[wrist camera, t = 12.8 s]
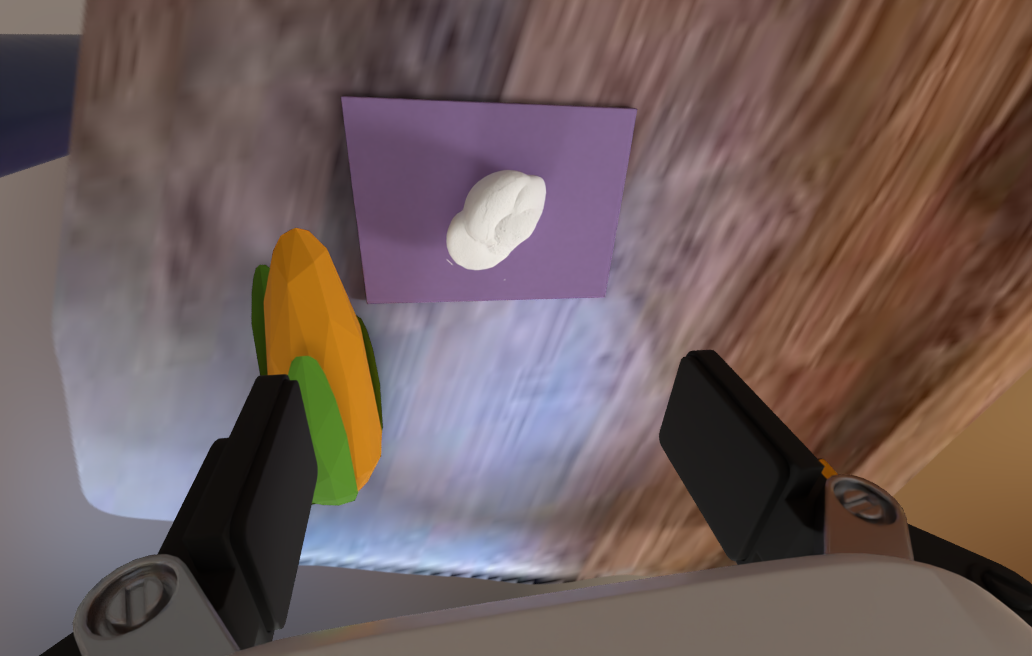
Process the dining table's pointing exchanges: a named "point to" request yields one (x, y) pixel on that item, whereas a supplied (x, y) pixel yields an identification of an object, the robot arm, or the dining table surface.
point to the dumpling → (495, 218)
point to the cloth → (458, 167)
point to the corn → (320, 360)
